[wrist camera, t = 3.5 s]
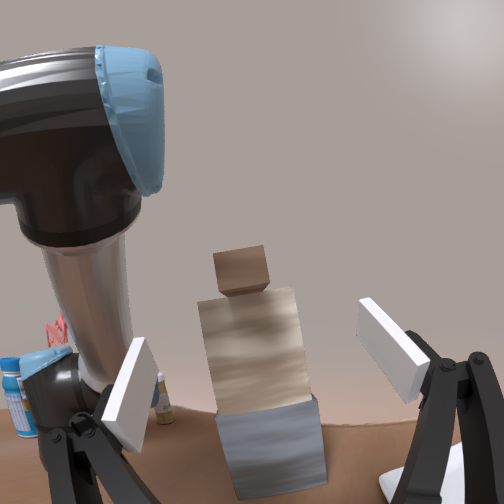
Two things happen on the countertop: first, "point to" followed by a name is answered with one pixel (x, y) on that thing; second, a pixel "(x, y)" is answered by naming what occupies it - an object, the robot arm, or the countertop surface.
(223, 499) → the countertop surface
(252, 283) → the walnut bar
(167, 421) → the sprinkles bottle
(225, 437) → the tower
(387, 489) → the salad plate
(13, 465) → the countertop surface
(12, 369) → the beverage bottle
